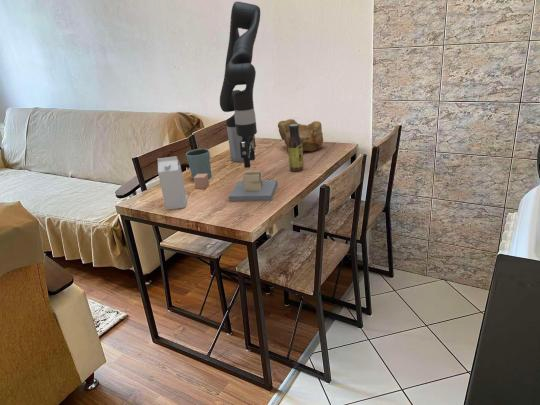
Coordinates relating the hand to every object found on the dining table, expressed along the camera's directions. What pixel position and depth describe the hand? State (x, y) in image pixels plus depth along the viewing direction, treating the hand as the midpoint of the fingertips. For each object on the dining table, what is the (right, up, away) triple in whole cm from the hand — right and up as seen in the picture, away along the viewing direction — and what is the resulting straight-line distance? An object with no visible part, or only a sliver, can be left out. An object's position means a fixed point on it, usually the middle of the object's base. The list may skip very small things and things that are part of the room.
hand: (250, 163), depth 153 cm
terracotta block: (-21, -8, +16) cm, 28 cm away
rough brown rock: (+22, +11, +52) cm, 58 cm away
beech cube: (+1, -9, +4) cm, 10 cm away
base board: (+2, -11, +5) cm, 12 cm away
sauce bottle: (+19, 0, +26) cm, 32 cm away
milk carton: (-28, -16, 0) cm, 32 cm away
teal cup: (-23, -4, +27) cm, 36 cm away
